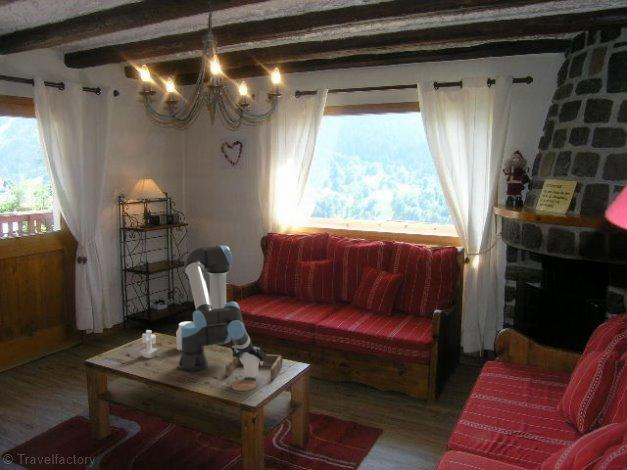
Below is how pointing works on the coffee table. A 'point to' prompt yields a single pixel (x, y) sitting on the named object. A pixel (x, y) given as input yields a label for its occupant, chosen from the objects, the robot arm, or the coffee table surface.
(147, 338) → the figurine
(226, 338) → the robot arm
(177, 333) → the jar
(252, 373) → the foam cup
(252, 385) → the terracotta pad
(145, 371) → the coffee table surface
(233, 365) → the wooden tray
